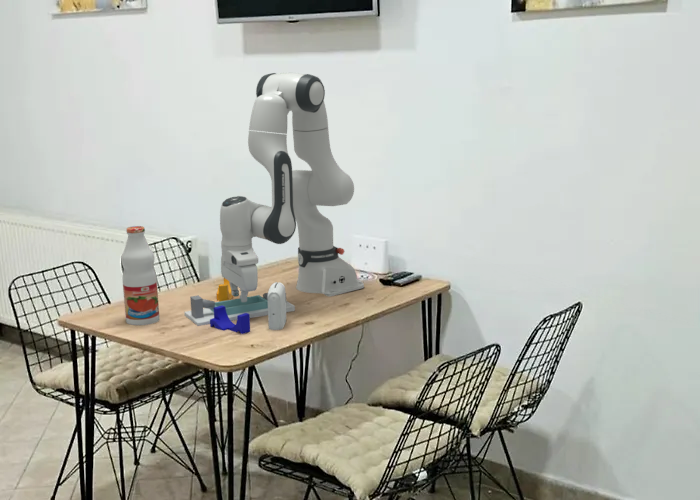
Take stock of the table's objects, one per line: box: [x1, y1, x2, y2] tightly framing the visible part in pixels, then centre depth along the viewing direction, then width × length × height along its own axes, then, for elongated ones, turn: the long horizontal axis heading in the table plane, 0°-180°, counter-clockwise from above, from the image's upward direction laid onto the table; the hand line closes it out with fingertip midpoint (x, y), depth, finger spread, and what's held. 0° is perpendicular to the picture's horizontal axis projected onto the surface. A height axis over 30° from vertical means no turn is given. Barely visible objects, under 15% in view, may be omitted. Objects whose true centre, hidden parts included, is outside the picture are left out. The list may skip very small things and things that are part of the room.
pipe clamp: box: [216, 277, 234, 302], centre depth 261 cm, size 12×4×6 cm, turn 179°
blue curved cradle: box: [209, 305, 251, 335], centre depth 233 cm, size 12×4×6 cm, turn 46°
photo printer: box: [267, 281, 287, 331], centre depth 235 cm, size 10×4×12 cm, turn 177°
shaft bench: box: [183, 292, 296, 327], centre depth 247 cm, size 30×12×7 cm, turn 119°
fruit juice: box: [120, 225, 160, 326], centre depth 238 cm, size 9×9×28 cm
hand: (239, 298), depth 247 cm, fingers open, 5 cm apart
